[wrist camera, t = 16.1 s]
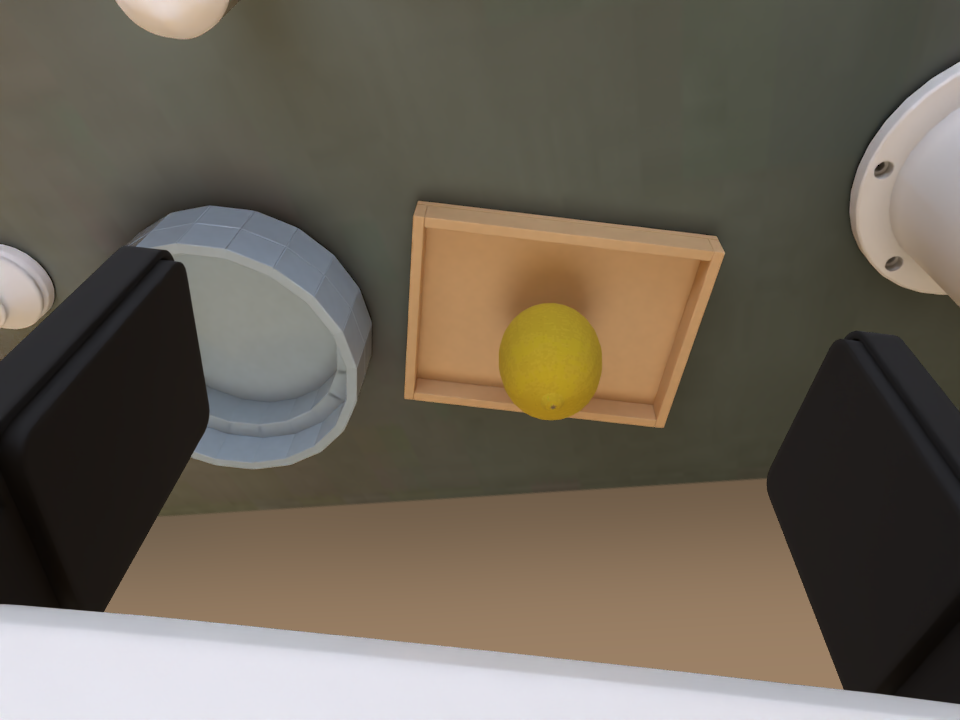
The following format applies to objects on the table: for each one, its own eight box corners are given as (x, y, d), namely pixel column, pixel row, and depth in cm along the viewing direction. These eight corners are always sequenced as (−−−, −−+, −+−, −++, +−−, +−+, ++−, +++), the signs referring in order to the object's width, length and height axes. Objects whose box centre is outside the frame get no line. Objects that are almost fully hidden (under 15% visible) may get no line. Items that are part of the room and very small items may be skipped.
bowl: (374, 220, 37) (356, 264, 33) (371, 427, 46) (357, 481, 42) (95, 187, 37) (43, 227, 33) (146, 402, 46) (110, 454, 42)
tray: (716, 235, 37) (725, 252, 35) (658, 407, 44) (663, 428, 42) (417, 200, 37) (413, 215, 35) (408, 379, 44) (403, 399, 42)
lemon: (527, 370, 42) (528, 462, 36) (483, 301, 39) (475, 387, 33) (610, 336, 40) (627, 426, 34) (571, 262, 38) (581, 344, 31)
